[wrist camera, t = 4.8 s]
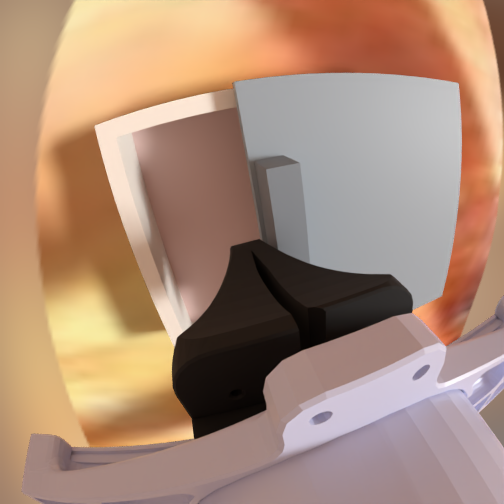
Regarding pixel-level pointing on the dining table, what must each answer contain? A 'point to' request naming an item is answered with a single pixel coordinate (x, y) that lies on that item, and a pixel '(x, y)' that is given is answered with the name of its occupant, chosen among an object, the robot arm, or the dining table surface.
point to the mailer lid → (356, 171)
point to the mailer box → (181, 198)
